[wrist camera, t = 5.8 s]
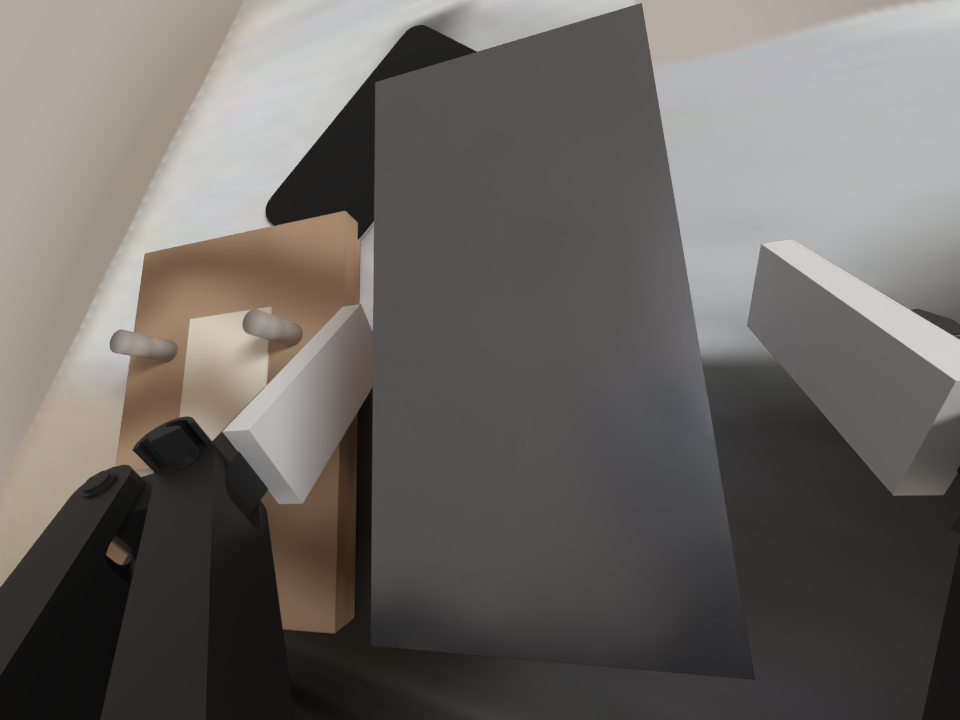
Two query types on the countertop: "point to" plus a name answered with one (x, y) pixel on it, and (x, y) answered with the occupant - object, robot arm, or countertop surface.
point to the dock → (252, 380)
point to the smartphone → (354, 142)
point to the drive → (542, 369)
